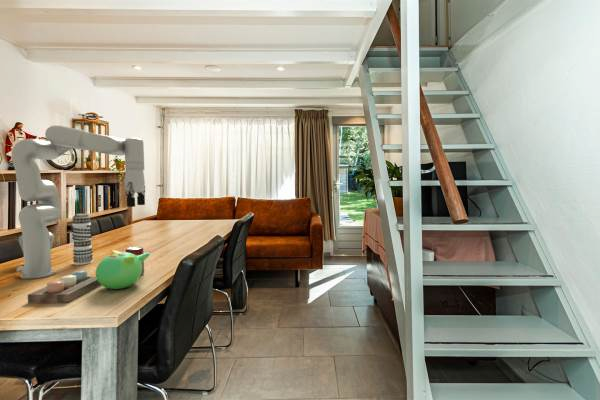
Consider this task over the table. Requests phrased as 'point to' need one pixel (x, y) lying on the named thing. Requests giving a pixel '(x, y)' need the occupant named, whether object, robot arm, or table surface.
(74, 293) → the brown wooden tray
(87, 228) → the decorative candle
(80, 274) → the slate-blue button
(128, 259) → the green rounded body
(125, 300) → the table surface
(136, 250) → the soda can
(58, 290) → the terracotta button
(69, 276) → the cream button
